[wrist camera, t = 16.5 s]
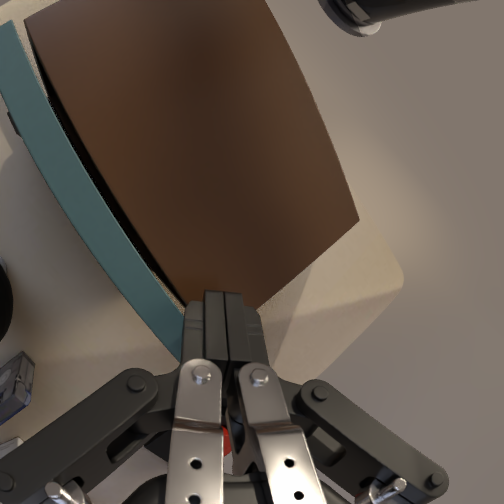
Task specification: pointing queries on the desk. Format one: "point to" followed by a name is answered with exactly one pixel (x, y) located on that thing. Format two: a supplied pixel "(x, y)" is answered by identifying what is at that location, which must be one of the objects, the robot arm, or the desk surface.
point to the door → (81, 193)
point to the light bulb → (5, 300)
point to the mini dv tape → (15, 386)
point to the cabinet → (197, 137)
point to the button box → (163, 439)
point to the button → (226, 442)
